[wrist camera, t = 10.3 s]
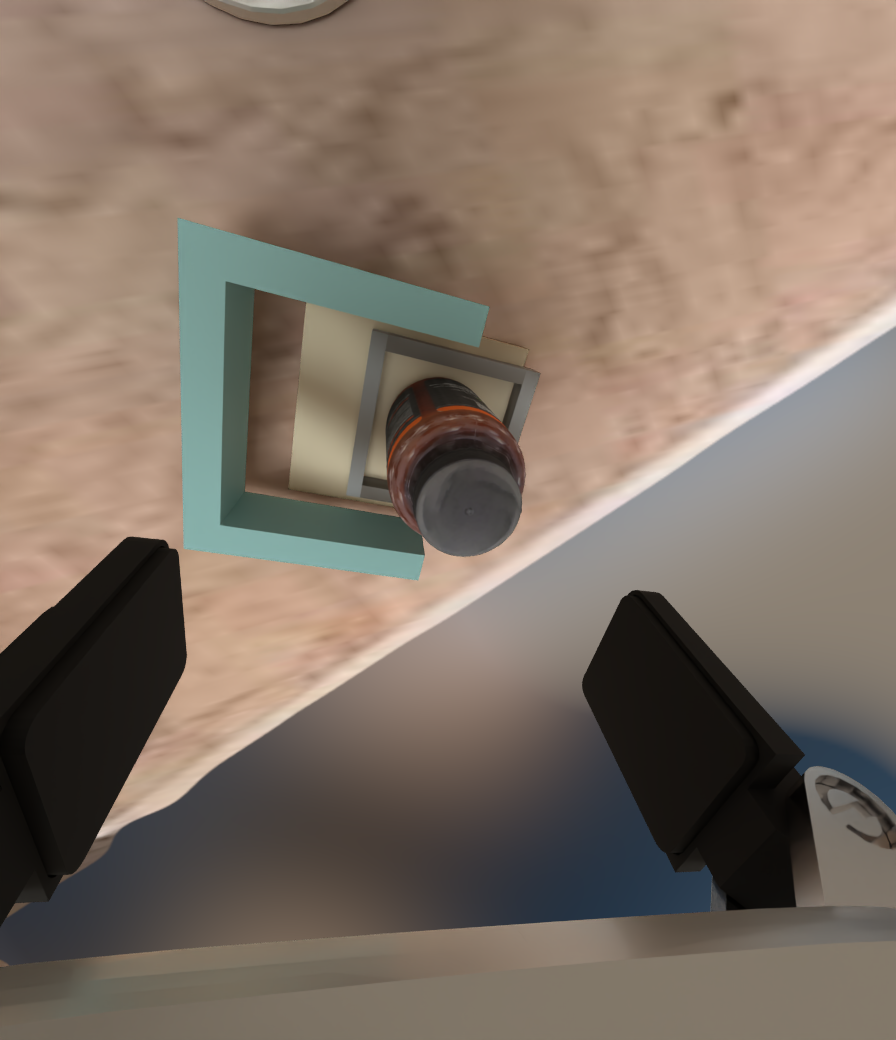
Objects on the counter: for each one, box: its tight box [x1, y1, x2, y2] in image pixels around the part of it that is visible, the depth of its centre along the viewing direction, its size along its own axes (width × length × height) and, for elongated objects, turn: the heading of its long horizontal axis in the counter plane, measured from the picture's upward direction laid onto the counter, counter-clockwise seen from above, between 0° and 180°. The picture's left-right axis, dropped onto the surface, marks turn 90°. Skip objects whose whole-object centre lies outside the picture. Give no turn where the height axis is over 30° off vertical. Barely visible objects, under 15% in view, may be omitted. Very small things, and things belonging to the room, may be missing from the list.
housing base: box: [288, 302, 541, 507], centre depth 25 cm, size 11×12×3 cm
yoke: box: [178, 218, 489, 580], centre depth 21 cm, size 14×12×4 cm
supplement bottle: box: [385, 377, 526, 557], centre depth 21 cm, size 6×6×11 cm
